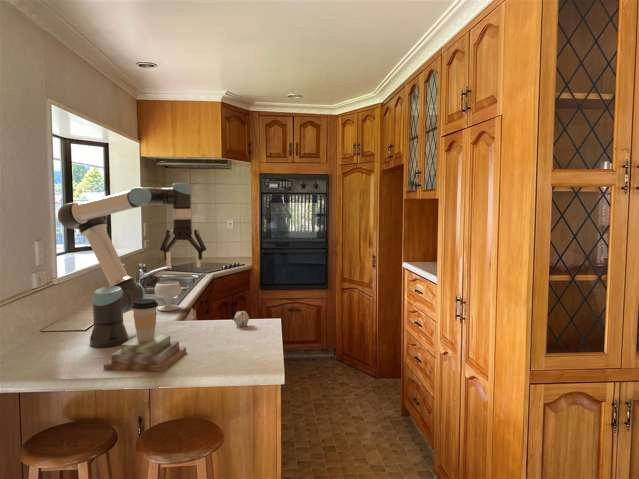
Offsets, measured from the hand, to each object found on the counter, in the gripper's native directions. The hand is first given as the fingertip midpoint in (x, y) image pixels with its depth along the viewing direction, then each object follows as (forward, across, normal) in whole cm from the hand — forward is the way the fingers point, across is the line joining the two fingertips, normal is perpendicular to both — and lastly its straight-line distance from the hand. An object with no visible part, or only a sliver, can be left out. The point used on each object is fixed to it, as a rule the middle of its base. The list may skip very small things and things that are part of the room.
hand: (183, 267), depth 204 cm
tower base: (+32, +3, +30) cm, 44 cm away
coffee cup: (+24, +3, +30) cm, 38 cm away
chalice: (+32, +31, -51) cm, 68 cm away
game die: (+32, -20, -20) cm, 43 cm away
